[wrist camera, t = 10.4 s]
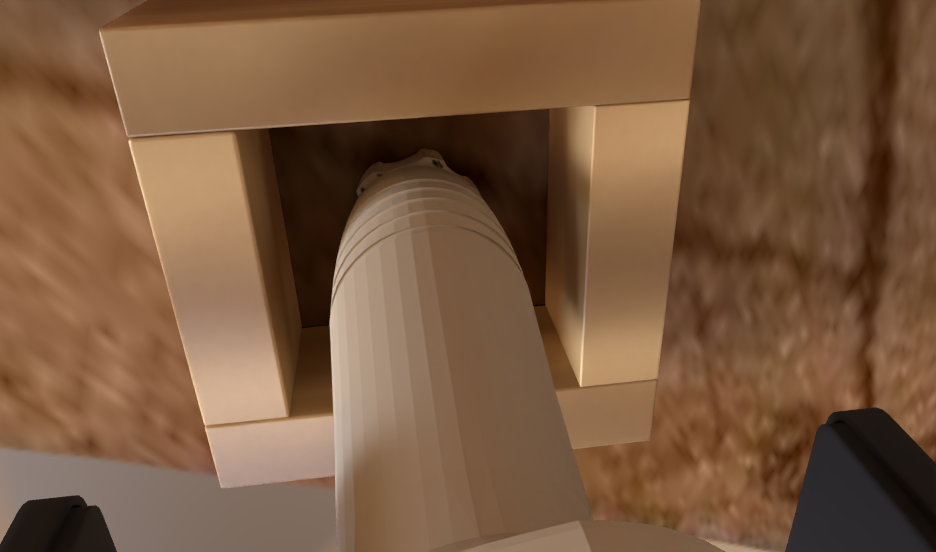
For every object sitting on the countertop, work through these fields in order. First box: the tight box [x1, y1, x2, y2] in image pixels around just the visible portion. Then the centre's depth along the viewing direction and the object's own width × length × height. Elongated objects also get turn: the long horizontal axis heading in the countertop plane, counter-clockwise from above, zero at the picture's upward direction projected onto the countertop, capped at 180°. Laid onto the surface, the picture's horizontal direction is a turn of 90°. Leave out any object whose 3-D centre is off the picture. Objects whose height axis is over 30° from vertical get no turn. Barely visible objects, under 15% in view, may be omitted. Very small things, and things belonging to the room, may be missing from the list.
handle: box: [330, 148, 725, 552], centre depth 13 cm, size 5×6×15 cm
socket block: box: [99, 0, 701, 488], centre depth 18 cm, size 11×11×4 cm
